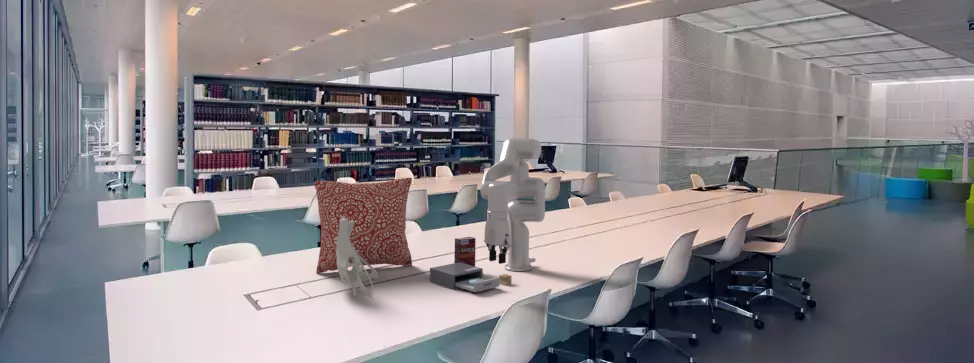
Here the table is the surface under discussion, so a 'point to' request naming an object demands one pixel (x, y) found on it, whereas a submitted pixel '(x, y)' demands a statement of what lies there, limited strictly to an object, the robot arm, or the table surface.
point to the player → (454, 274)
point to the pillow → (364, 221)
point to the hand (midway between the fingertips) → (497, 261)
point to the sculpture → (348, 251)
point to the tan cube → (505, 279)
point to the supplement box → (465, 250)
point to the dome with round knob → (474, 281)
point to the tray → (478, 284)
